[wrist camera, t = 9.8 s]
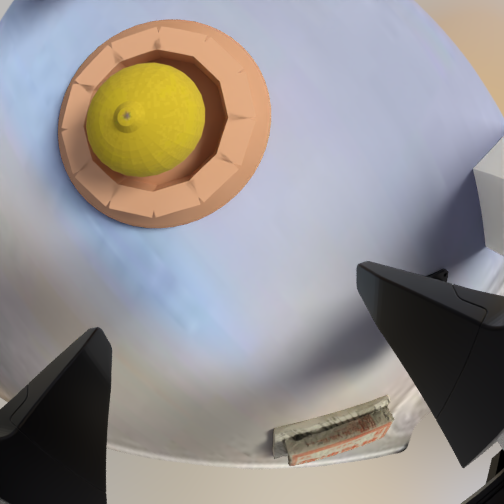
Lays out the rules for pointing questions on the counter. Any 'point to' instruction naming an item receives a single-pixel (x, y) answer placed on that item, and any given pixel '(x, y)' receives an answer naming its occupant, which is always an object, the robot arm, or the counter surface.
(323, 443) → the packaged product
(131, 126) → the lemon
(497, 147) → the milk
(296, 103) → the counter surface
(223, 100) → the holder
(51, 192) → the counter surface
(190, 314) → the counter surface
